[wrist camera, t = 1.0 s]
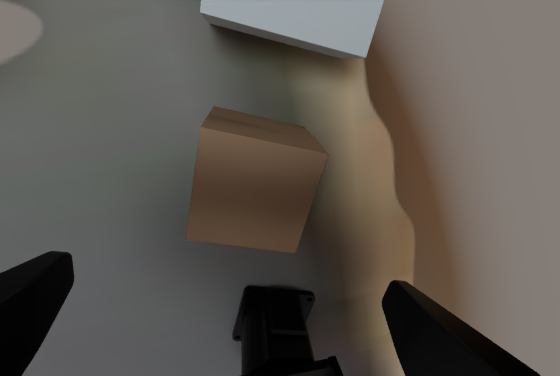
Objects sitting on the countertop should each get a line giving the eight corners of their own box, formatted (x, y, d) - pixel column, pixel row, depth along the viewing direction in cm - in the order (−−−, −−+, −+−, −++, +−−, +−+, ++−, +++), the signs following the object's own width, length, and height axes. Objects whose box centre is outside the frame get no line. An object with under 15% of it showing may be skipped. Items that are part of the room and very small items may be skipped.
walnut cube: (281, 203, 21) (295, 253, 15) (201, 190, 19) (185, 239, 14) (303, 126, 18) (328, 154, 13) (214, 106, 17) (200, 127, 12)
